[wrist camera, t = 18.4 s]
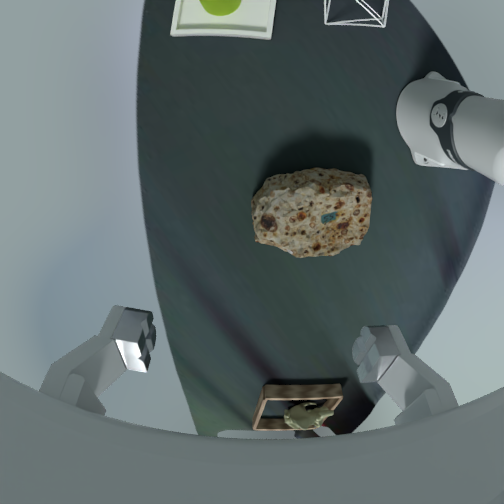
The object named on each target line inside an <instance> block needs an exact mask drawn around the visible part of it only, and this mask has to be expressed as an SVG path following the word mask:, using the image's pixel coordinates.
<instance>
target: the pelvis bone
mask: <svg viewBox="0 0 504 504" xmlns="http://www.w3.org/2000/svg"><path fill="white" fill-rule="evenodd" d="M309 404H315V403H313V402H312V403H311V402H306V403H302V404H299V405H296V406H294V407H292V408H291V409H289V411H288V410H285V415H284V419H285V423H287V424H288V425H289V426H291V427H292V428H294V429H299V428H301V429H303V430H307V429H308V427H309V426H310V425H314V427H320V426H321V425H322V423H323V419H324V418H325V417H327V416H331V415H333V413H334V411H333V410H328V408H327V407H326V406H322V407H320V408H314V409H313V410H308V411H306V409H305V407H304V406H307V405H309ZM315 405H316V404H315Z"/></svg>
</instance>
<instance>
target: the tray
mask: <svg viewBox="0 0 504 504" xmlns="http://www.w3.org/2000/svg"><path fill="white" fill-rule="evenodd" d="M275 6H276V0H241V4H240V6H239V8H238V9H237V10H236V11H234V12H233V13H231V14H229V15H225V16H215V15H211V14H209V13H208V12H206V11H205V9H204V8H203V6H202V4H201V3H200V1H199V0H176V3H175V9H174V14H173V21H172V27H171V34H170V35H172V36H173V37H177V36H231V37H246V38H257V39H266V40H271V35H272V28H273V20H274V13H275Z"/></svg>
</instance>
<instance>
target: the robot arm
mask: <svg viewBox="0 0 504 504" xmlns="http://www.w3.org/2000/svg"><path fill="white" fill-rule="evenodd" d="M396 117H397V124H398V128H399V131H400V133H401V135H402V137H403V139H404V140H405V142H406V143H407V145H408V146H409V147H410V149H411V153H412V157H413V160H414V162H415V163H416V164H418V165H422V166H434V167H445V168H455V169H464V170H472V171H478V172H479V173H481V174H483V175H485V176H486V177H488V178H490V179H492V180H493V181H495V182H497V183H498V184H500V185H502V186H504V100H500V99H493V98H486V97H484V96H482V95H480V94H478V93H475V92H473V91H469V90H468V89H467V88H465V87H463V86H461V85H460V83H458V82H455V81H450V80H446V79H445V78H444V77H443V76H442V75H440V74H439V73H438V72H434V71H431V72H430V73H428V74H427V75H426V76H425V77H424V78H423V79H420V80H416V81H413V82H411V83H410V84H408V85H407V86H406V87H405V88H404V89H403V91H402V92H401V94H400V96H399V99H398V103H397V109H396ZM424 158H425V160H424ZM152 321H153V314H152V312H151V311H145V310H140V309H134V308H129V307H123V306H117V305H115V306H113V307H112V309H111V311H110V313H109V315H108V317H107V319H106V321H105V323H104V325H103V327H102V329H101V331H100V333H99V335H98V336H96V335H95V336H93V337H92V338H90V339H89V340H87V341H86V342H84V343H83V344H81V345H80V346H78V347H77V348H75V349H74V350H72V351H71V352H69V353H68V354H66V355H65V356H63V357H62V358H60V359H59V360H58V361H56V362H54V363H53V364H51V366H50V368H49V371H48V372H47V375H46V377H45V379H44V381H43V383H42V386H41V388H40V390H39V391H37V390H35V389H33V388H30V387H29V386H27V385H24V384H22V383H20V382H19V381H16V380H15V379H13V378H11V377H9V376H7V375H5V374H3V373H2V372H0V504H504V387H503V388H500V389H498V390H496V391H494V392H492V393H490V394H487V395H485V396H483V397H481V398H478V399H476V400H473V401H471V402H469V403H466V404H463V405H461V406H458V403H457V401H456V398H455V396H454V393H453V391H452V389H451V386H450V384H449V383H448V382H447V381H446V380H445V379H443V378H442V377H441V376H440V375H439V374H437V373H436V372H435V371H434V370H433V369H431V368H430V367H429V366H428V365H427V364H425V363H424V362H423V361H422V360H421V359H419V358H418V357H417V356H416V355H414V354H411V353H410V351H409V348H408V346H407V344H406V342H405V340H404V338H403V335H402V333H401V331H400V329H399V327H398V326H397V325H386V326H385V325H380V326H364V327H363V328H362V330H361V332H360V333H361V336H360V337H359V338H358V339H356V341H355V343H354V345H353V350H352V352H353V359H354V361H355V362H356V363H357V364H358V365H359V366H358V368H357V373H358V376H359V380H360V383H365V382H378V384H379V385H380V386H381V387H382V388H383V389H384V390H385V392H386V393H387V394H388V395H389V396H390V397H391V398H392V400H393V401H394V402H395V403H396V404H397V405H398V406H399V407H400V409H401V410H402V411H403V412H401V413H400V414H399V415H398V416H397V417H396V418H395V420H394V421H395V424H396V425H394V426H390V427H385V428H380V429H375V430H370V431H364V432H358V433H351V434H344V435H336V436H327V437H315V438H300V439H237V438H221V437H211V436H201V435H193V434H185V433H179V432H173V431H167V430H161V429H156V428H150V427H146V426H142V425H137V424H133V423H129V422H125V421H121V420H118V419H114V418H110V417H107V416H105V412H106V409H105V408H104V406H103V405H102V403H101V402H100V401H99V399H98V397H99V396H100V395H101V394H102V393H103V392H104V391H105V390H106V389H107V388H108V387H109V386H110V385H111V384H112V383H113V382H115V381H116V380H117V379H118V378H119V377H120V376H121V375H122V374H123V373H124V372H125V371H126V369H129V370H135V371H141V372H147V370H148V367H149V363H150V360H151V357H150V354H149V353H150V352H151V351H152V350H153V349H154V346H155V341H156V329H155V326H154V325H153V324H152Z"/></svg>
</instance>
